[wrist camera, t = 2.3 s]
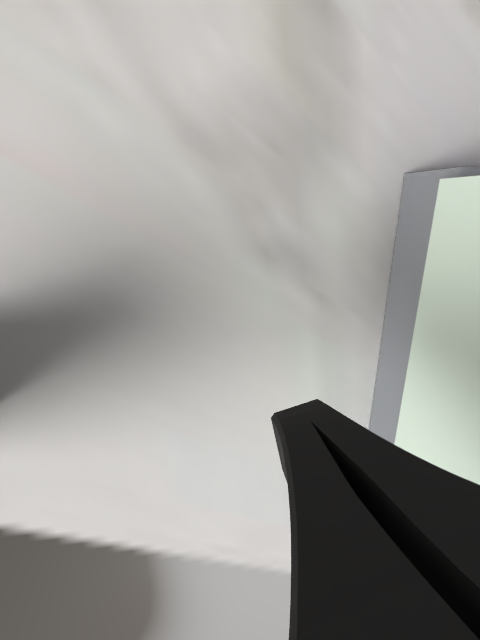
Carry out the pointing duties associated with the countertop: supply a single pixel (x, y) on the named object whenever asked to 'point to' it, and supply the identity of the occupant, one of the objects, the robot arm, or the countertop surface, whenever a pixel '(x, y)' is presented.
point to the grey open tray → (405, 293)
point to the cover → (447, 340)
